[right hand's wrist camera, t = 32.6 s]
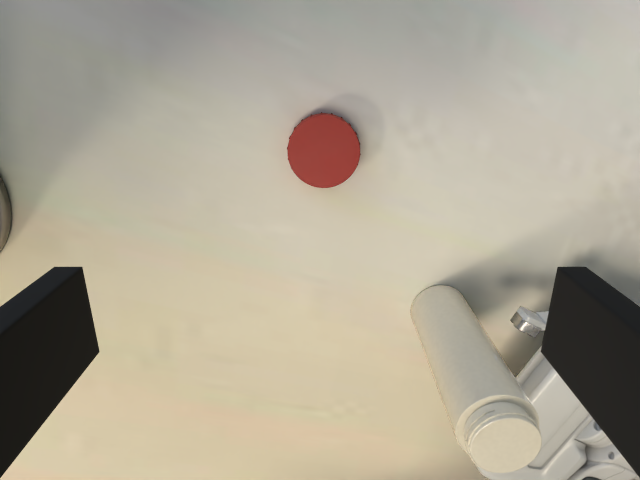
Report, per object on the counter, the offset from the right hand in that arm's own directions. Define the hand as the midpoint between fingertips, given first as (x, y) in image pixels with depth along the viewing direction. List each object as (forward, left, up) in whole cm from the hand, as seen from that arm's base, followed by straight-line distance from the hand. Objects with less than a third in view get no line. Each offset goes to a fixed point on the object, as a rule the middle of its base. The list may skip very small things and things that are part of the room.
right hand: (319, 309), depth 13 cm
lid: (0, 0, -27) cm, 27 cm away
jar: (+3, -19, -28) cm, 34 cm away
